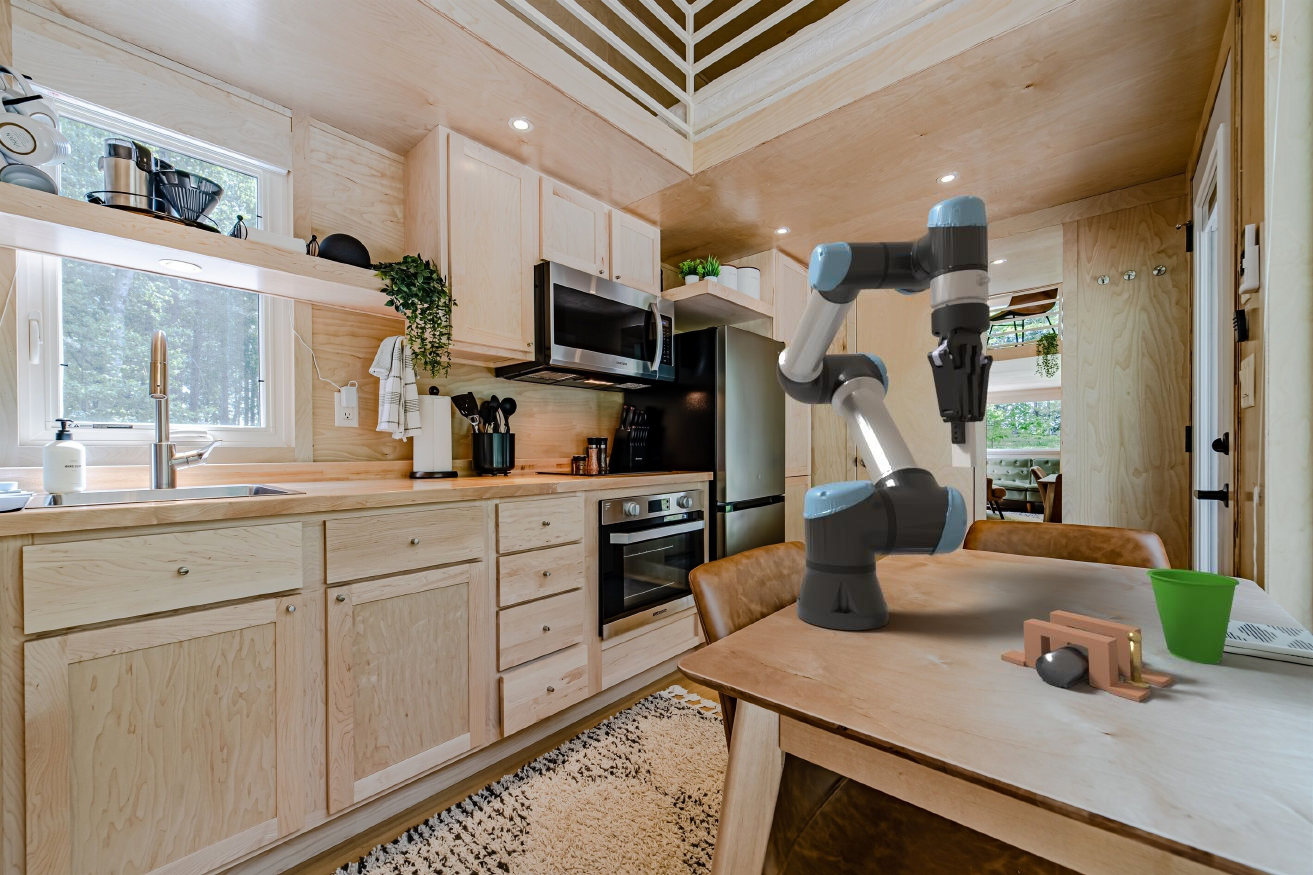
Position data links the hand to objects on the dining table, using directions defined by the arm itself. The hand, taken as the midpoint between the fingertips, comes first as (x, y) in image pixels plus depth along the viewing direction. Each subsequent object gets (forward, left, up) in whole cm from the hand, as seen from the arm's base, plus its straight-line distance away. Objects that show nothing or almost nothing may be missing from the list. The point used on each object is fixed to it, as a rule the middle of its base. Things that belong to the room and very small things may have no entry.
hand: (964, 466), depth 79 cm
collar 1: (+12, +1, -26) cm, 29 cm away
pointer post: (+18, +4, -26) cm, 32 cm away
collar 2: (+12, +8, -26) cm, 30 cm away
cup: (+18, +22, -27) cm, 39 cm away
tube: (+12, +4, -26) cm, 29 cm away
